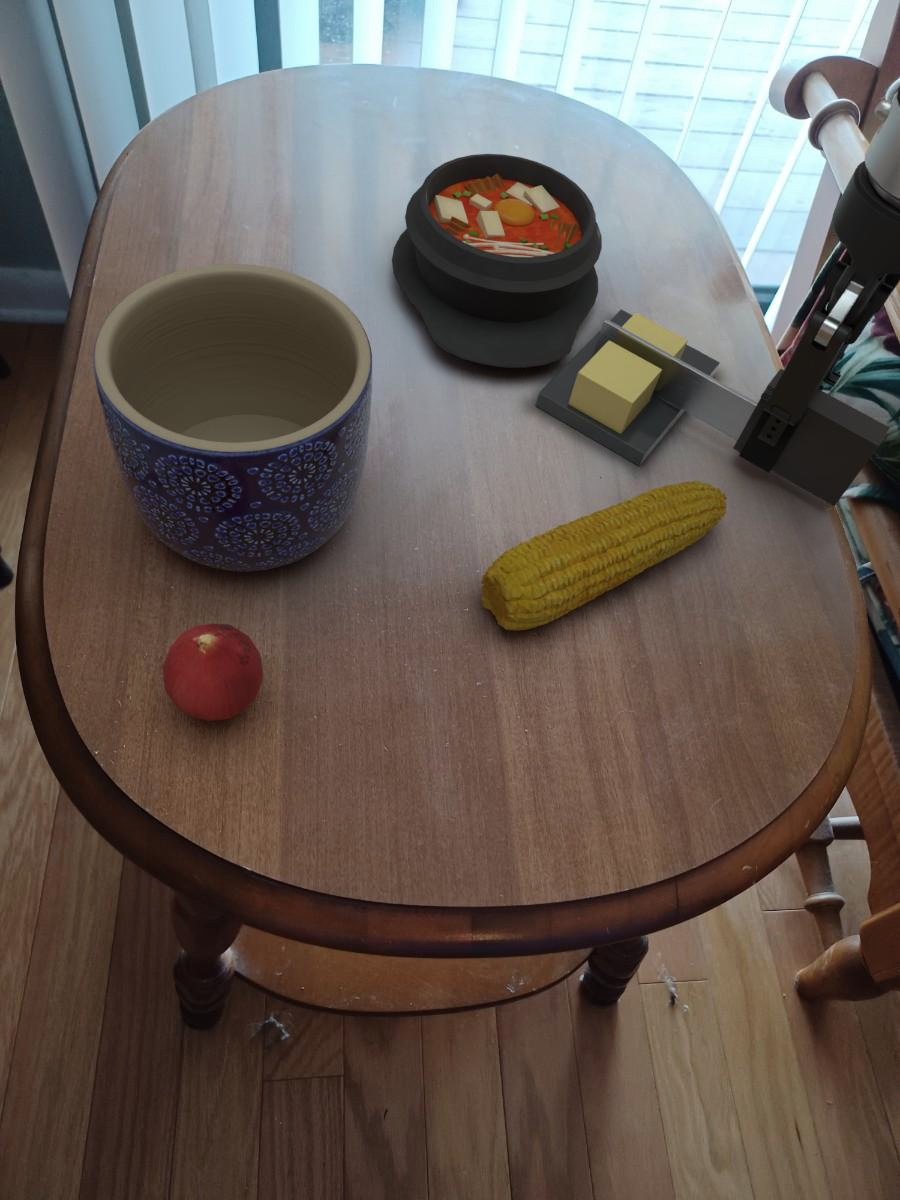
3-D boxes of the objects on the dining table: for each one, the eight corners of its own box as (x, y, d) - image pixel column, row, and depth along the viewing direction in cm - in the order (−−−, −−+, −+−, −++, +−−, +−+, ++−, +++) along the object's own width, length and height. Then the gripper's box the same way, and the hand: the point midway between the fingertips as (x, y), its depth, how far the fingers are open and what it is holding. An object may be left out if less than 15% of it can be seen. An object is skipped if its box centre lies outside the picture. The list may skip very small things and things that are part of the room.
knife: (845, 488, 75) (890, 427, 69) (833, 506, 74) (878, 446, 68) (599, 349, 81) (622, 281, 75) (585, 364, 79) (607, 296, 74)
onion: (211, 645, 62) (199, 576, 56) (283, 689, 61) (279, 623, 55) (152, 711, 59) (132, 646, 53) (226, 758, 58) (215, 698, 52)
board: (714, 375, 83) (720, 362, 82) (639, 466, 76) (644, 454, 75) (616, 322, 86) (621, 308, 84) (535, 406, 78) (538, 392, 77)
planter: (137, 423, 72) (101, 257, 60) (355, 422, 75) (364, 263, 63) (123, 606, 63) (78, 455, 51) (371, 597, 66) (385, 451, 54)
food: (510, 658, 65) (527, 611, 60) (464, 598, 67) (476, 548, 62) (728, 538, 73) (758, 487, 68) (680, 488, 75) (706, 436, 70)
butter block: (649, 401, 78) (662, 369, 75) (620, 434, 76) (632, 403, 73) (598, 372, 79) (609, 339, 77) (567, 404, 77) (577, 372, 74)
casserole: (608, 392, 80) (636, 313, 73) (388, 376, 78) (396, 293, 71) (579, 212, 94) (600, 131, 87) (391, 194, 92) (398, 109, 85)
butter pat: (674, 372, 81) (688, 340, 78) (658, 390, 79) (671, 358, 76) (624, 344, 82) (635, 311, 79) (607, 362, 80) (618, 329, 77)
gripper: (904, 107, 61) (760, 377, 81) (814, 213, 53) (679, 483, 73) (1014, 157, 60) (840, 420, 79) (938, 273, 52) (766, 534, 71)
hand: (763, 450), depth 76 cm, fingers closed on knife, 2 cm apart
